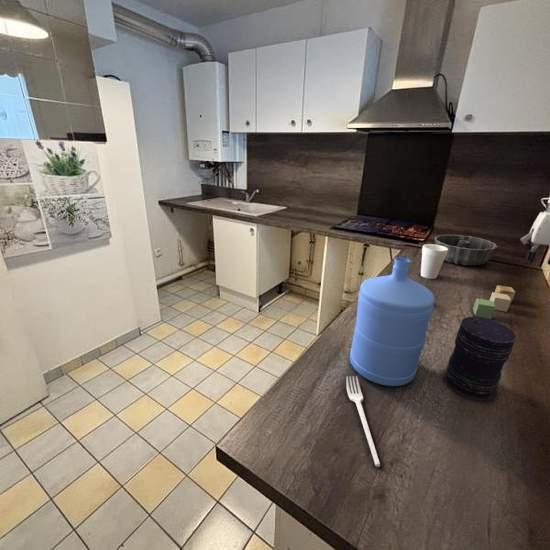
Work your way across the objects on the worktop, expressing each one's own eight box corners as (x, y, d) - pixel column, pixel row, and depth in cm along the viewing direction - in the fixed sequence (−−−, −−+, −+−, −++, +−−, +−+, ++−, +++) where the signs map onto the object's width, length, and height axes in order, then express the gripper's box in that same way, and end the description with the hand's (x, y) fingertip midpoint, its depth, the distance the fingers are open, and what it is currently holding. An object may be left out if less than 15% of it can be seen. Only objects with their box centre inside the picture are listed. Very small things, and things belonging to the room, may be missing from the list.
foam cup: (442, 281, 121) (449, 252, 116) (417, 278, 124) (424, 249, 119) (438, 273, 129) (445, 245, 124) (416, 270, 132) (422, 243, 127)
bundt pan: (435, 266, 138) (440, 245, 134) (426, 249, 162) (430, 232, 158) (499, 273, 131) (507, 252, 128) (480, 255, 155) (486, 236, 151)
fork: (368, 468, 49) (369, 460, 48) (343, 381, 68) (344, 375, 67) (387, 468, 49) (389, 461, 48) (357, 382, 68) (358, 375, 67)
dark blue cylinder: (505, 394, 64) (529, 338, 58) (470, 404, 61) (492, 346, 56) (466, 365, 73) (483, 313, 67) (434, 372, 70) (449, 319, 64)
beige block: (503, 306, 102) (507, 294, 101) (506, 311, 99) (511, 300, 97) (488, 303, 104) (492, 292, 102) (491, 309, 100) (495, 297, 98)
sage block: (488, 312, 98) (492, 300, 96) (491, 319, 94) (495, 306, 92) (472, 309, 99) (476, 298, 98) (474, 315, 96) (478, 303, 94)
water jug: (429, 384, 67) (462, 271, 56) (365, 391, 64) (387, 275, 53) (393, 343, 81) (414, 247, 70) (340, 348, 78) (352, 249, 68)
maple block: (507, 298, 108) (511, 287, 106) (511, 303, 104) (515, 292, 102) (493, 295, 110) (497, 285, 108) (496, 301, 106) (500, 289, 104)
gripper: (590, 210, 92) (566, 264, 99) (523, 205, 98) (506, 256, 105) (603, 214, 85) (577, 271, 92) (531, 209, 92) (512, 263, 99)
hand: (539, 263), depth 98 cm, fingers open, 5 cm apart
